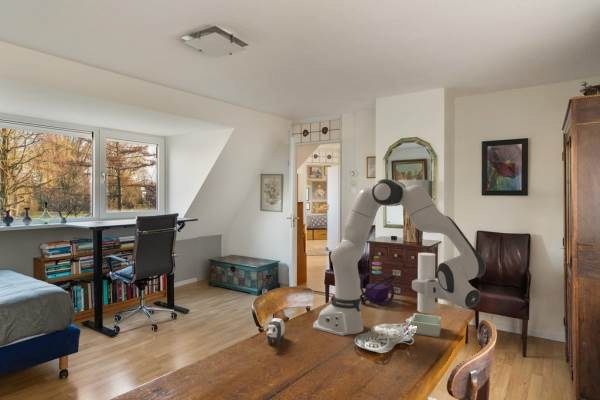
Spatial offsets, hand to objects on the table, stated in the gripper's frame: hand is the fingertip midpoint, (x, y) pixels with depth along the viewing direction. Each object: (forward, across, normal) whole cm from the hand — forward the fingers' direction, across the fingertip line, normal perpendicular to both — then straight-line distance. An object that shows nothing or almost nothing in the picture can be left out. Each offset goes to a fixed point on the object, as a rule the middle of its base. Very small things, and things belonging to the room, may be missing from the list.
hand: (425, 280), depth 162 cm
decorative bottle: (+42, +2, +22) cm, 48 cm away
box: (-1, 0, +22) cm, 22 cm away
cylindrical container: (-1, 0, +13) cm, 13 cm away
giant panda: (+4, +66, +22) cm, 70 cm away
